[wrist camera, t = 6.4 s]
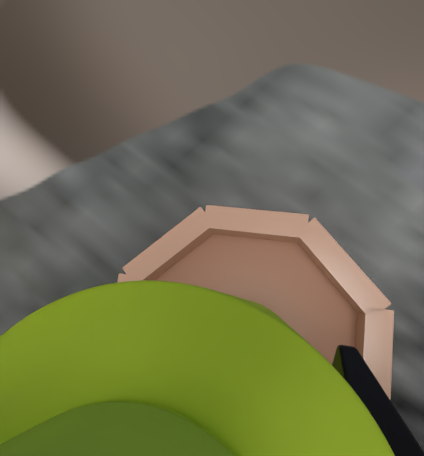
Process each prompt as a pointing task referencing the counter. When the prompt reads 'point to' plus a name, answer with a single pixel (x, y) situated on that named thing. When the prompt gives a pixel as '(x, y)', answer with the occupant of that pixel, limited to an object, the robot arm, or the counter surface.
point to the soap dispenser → (172, 380)
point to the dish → (278, 277)
